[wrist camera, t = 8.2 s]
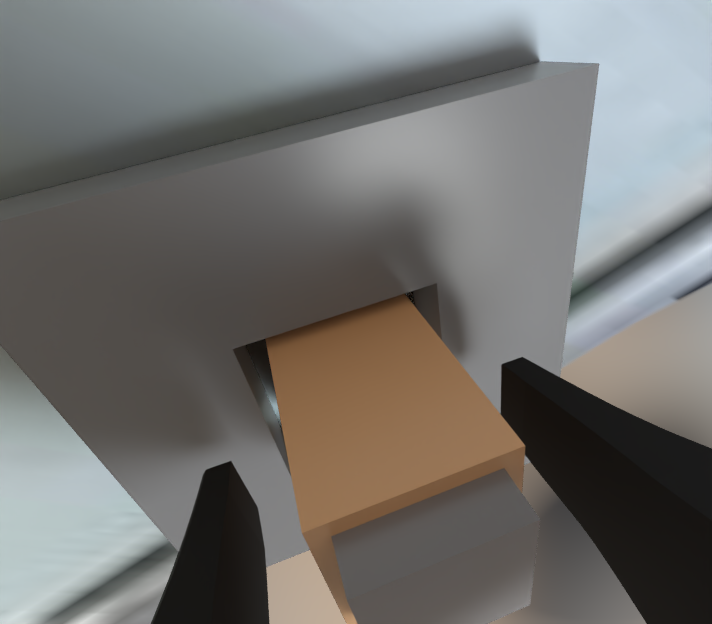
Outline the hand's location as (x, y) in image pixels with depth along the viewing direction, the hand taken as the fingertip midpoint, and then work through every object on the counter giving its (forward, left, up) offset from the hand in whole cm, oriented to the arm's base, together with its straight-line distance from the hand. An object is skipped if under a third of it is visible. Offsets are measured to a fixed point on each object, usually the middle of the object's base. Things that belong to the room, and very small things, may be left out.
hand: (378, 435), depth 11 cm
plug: (0, 0, -4) cm, 4 cm away
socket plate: (0, 0, -4) cm, 4 cm away
